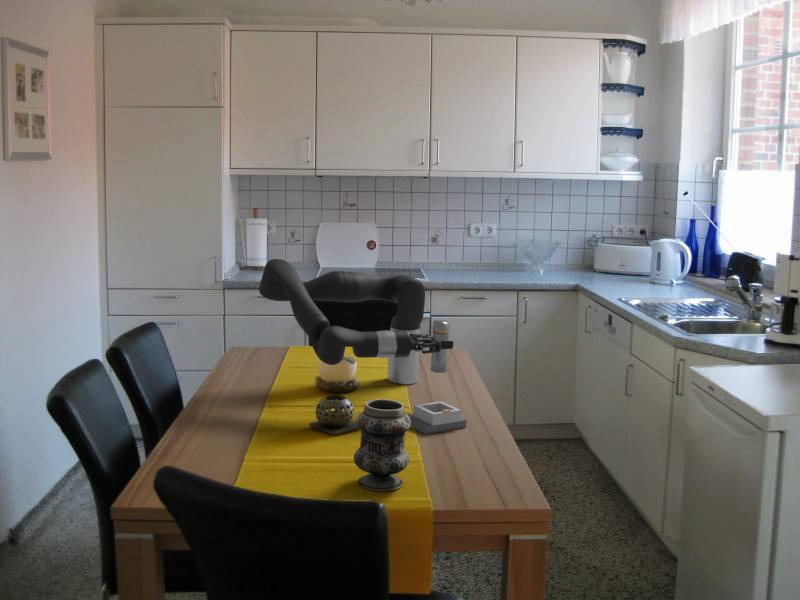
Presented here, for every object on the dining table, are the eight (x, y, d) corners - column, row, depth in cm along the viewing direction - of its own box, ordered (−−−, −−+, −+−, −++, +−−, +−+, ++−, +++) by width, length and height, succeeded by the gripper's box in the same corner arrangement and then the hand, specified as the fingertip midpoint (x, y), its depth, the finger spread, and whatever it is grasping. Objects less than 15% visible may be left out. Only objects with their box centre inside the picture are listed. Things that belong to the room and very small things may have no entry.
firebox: (402, 422, 237) (403, 402, 236) (441, 416, 244) (442, 396, 243) (425, 434, 228) (427, 413, 227) (466, 427, 235) (467, 407, 234)
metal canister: (427, 369, 247) (430, 320, 245) (440, 368, 250) (443, 319, 247) (436, 373, 244) (439, 323, 241) (450, 371, 246) (453, 322, 244)
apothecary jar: (418, 488, 191) (422, 408, 188) (370, 497, 185) (374, 415, 182) (389, 470, 201) (392, 393, 198) (342, 478, 195) (345, 399, 192)
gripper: (382, 351, 248) (440, 349, 253) (398, 364, 235) (458, 362, 240) (384, 325, 247) (441, 324, 252) (399, 336, 234) (459, 335, 239)
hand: (449, 342), depth 246 cm, fingers closed on metal canister, 4 cm apart
